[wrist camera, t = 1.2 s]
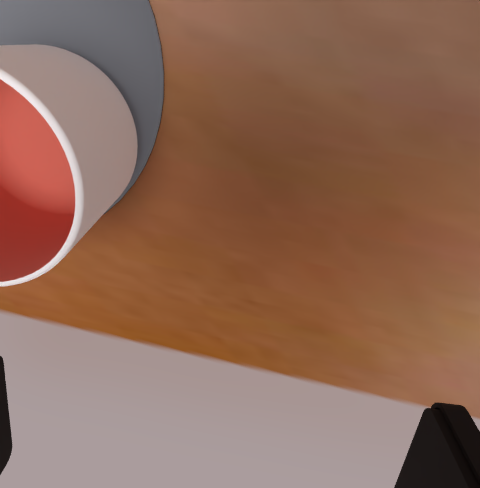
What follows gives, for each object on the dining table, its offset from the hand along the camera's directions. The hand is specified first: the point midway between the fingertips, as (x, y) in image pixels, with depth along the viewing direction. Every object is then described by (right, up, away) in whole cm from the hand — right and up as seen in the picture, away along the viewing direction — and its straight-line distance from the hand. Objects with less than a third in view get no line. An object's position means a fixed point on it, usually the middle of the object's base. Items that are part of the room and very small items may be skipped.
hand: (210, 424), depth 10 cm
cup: (-10, +11, +18) cm, 23 cm away
